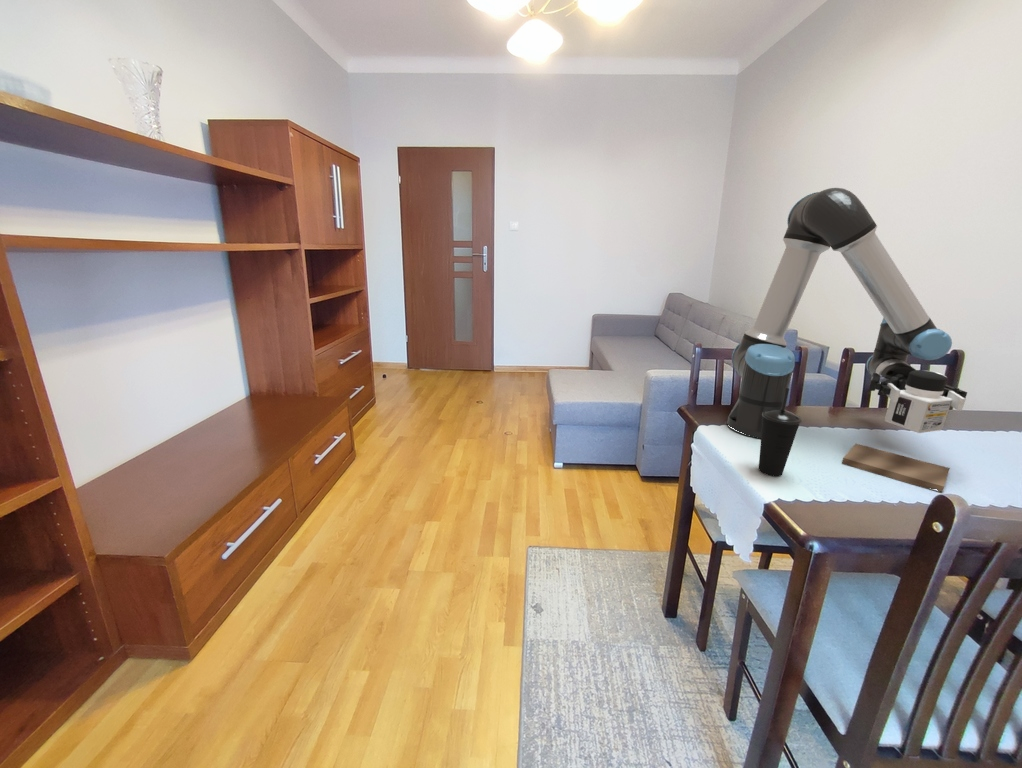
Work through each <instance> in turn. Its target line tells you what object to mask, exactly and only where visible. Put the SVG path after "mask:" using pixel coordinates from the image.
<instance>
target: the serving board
mask: <svg viewBox="0 0 1022 768" xmlns="http://www.w3.org/2000/svg"><path fill="white" fill-rule="evenodd" d="M841 464H842V465H846V466H848V467H852V468H857V469H859V470H862V471H866V472H868V473H869V472H870V473H873V474H876V475H879V476H883V477H886V478H890V479H893V480H896V481H900V482H903V483H906V484H911V485H914V486H916V487H920V486H921V487H920V488H923V487H925V488H924V489H927V488H931V489H937V490H938V491H942V492H939V493H940V494H942V493H943V492H944V491H943V490H944V488H945V484H946V481H947V478H948V475H949V472H950V469H951V468H950V467H946V466H943V465H941V464H936V463H932V462H928V461H924V460H920V459H916V458H914V457H910V456H905V455H903V454H897V453H893V452H890V451H886V450H882V449H879V448H874V447H871V446H868V445H863V444H859V443H855V444H854V445H853V446H852V447H851V448H850V449H849V450H848V452H847V453H846V454H845V455H844V456H843V457H842V460H841Z"/></svg>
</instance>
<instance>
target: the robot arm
mask: <svg viewBox="0 0 1022 768" xmlns="http://www.w3.org/2000/svg"><path fill="white" fill-rule="evenodd" d="M788 213H789V214H788V216H787V228H786V230H785V234H784V236H783V239H782V241H783V242H784V245H785V249H784V251H783V254H782V255H781V258H780V260H779V263H778V266H777V269H776V271H775V272H774V273H775V274H774V275H773V277H772V281H771V283H770V285H769V288H768V290H767V293H766V295H765V298H764V300H763V302H762V305H761V307H760V309H759V311H758V313H757V317H756V318H755V321H754V324H753V326H752V328H750V329H749V330H745V332H744V333H743V336H742V338H741V342H740V343H738V344H737V345H736V346H735V348H734V349H733V351H732V354H731V363H732V364H731V365H732V367H733V368H732V369H734V371H735V373H736V374H737V375H738V376H739V377H740V378H741V380H740V386H739V393H738V398H737V400H736V403H735V404H734V406H733V407H732V409H731V411H730V413H729V415H728V417H727V422H726V425H727V424H728V425H729V426H730V427H732V428H734V429H735V430H737V431H739V432H742V433H744V434H746V435H750V436H754V437H758V438H757V439H760V438H761V435H762V423H763V416H762V412H763V411H766V410H773V409H782V404H783V399H784V394H785V389H786V388H789V389H790V386H791V381H792V376H793V371H794V369H795V366H796V365H795V360H796V357H795V354H794V352H793V351H792V350H790V349H789V348H787V344H788V343H787V341H786V340H785V335H786V333H787V331H788V329H789V326H790V324H791V322H792V319H793V317H794V315H795V312H796V310H797V307H798V306H799V304H800V301H801V298H802V297H803V294H804V292H805V289H806V287H807V285H808V283H809V280H810V278H811V276H812V274H813V272H814V269H815V267H816V265H817V262H818V261H819V258H820V255H821V254H823V253H825V252H826V251H829V250H830V248H831V249H832V251H834V252H839V253H840V254H841V256H842V257H843V258H844V259H845V261H846V263H847V264H848V266H849V267H850V269H851V270H852V273H854V275H855V277H856V278H857V279H858V281H859V283H860V284H861V285H862V287H863V288H864V290H865V291H866V293H867V294H868V296H869V297H870V299H871V300H872V302H873V303H874V305H875V307H876V308H877V310H878V311H879V312H880V314H881V315H882V320H881V323H880V324H879V326H880V327H879V330H878V335H877V339H876V344H875V347H874V350H873V353H872V355H871V356H870V357H868V359H867V361H866V365H865V366H866V369H867V372H868V373H869V375H870V376H871V379H870V384H869V386H868V391H870V392H871V391H872V392H875V391H876V390H878V391H877V396H880V397H882V396H885V395H886V396H887V397H888V398H889V399H891V400H892V401H893V402H897V401H898V398H899V394H900V390H906V388H905V386H906V382H907V379H908V376H909V373H910V372H911V371H915V370H917V369H916V368H914V367H913V366H911V365H910V364H909V363H907V362H908V357H909V355H910V356H913V357H914V358H917V359H922V360H925V361H933V360H935V361H936V360H938V359H940V358H943V357H945V356H946V355H947V354H948V353H949V352H950V350H951V349H952V344H953V341H952V338H951V336H950V335H949V334H948V333H947V332H946V331H944V330H942V329H940V328H937V326H936V324H935V323H934V322H933V320H932V319H931V317H930V316H929V315H928V313H927V312H926V310H925V309H924V308H925V307H923V305H922V304H921V302H920V301H919V299H918V297H917V296H916V294H915V293H914V291H913V289H911V287H910V285H909V284H908V282H907V281H906V279H905V277H904V276H903V273H902V272H901V271H900V269H899V268H898V266H897V265H896V263H895V262H894V259H893V258H892V256H891V255H890V254H889V252H888V251H887V249H886V248H885V246H884V244H883V243H882V241H881V240H880V239H879V237H878V235H877V233H876V231H877V228H878V224H877V223H876V222H875V220H874V219H873V217H872V216H871V214H870V212H869V211H868V209H867V208H866V206H865V205H864V204H863V203H862V201H861V200H860V199H859V198H858V196H857V195H856V194H854V193H853V192H852V191H851V190H847V189H846V188H842V187H830V188H826V189H823V190H820V191H817V192H812V193H809V194H806V195H805V196H804V197H802V198H801V199H799V200H798V201H797V202H796V203H795V204H794V205H792V207H791V209H790V211H789V212H788ZM967 395H968V392H967V391H965V390H962V389H960V388H958V387H953V386H951V385H948V384H946V385H945V388H944V391H943V394H942V395H940V396H944V397H948V398H951V399H952V402H951V405H950V407H952V408H953V409H955V410H956V411H959V412H963V409H964V405H965V403H966V400H967V399H966V397H967ZM746 435H745V436H746ZM750 436H749V437H750ZM754 437H753V438H754Z"/></svg>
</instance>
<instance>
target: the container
mask: <svg viewBox="0 0 1022 768" xmlns="http://www.w3.org/2000/svg"><path fill="white" fill-rule="evenodd" d="M947 381H948V377H947V376H946V375H944V374H943V373H940V372H936V371H931V370H925V369H916V370H915V371H911V372H910V373H909V376H908V379H907V382H906V386H905V388H906V390H900V394H899V398H898V401H897V402H893V401H892V400H891V399H890V398H889V399H890V400H889V403H888V406H887V410H886V413H885V417H884V422H886V423H889V424H891V425H895V426H897V427H900V428H903V429H906V430H908V431H911V432H914V433H918V434H923V433H930V432H931V433H932V432H938V431H942V430H943V428H944V425H945V423H946V419H947V417H948V413H949V411H950V408H951V406H950V405H951V402H952V399H951V398H948V397H944V396H940V395H942V394H943V391H944V388H945V385H947Z"/></svg>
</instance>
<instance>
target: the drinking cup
mask: <svg viewBox="0 0 1022 768" xmlns="http://www.w3.org/2000/svg"><path fill="white" fill-rule="evenodd" d="M789 391H790V387H789V388H786V389H785V394H784V399H783V404H782V409H773V410H766V411H763V412H762V416H763V423H762V435H761V439H760V446H759V447H760V448H759V449H760V450H759V456H758V457H759V459H758V460H759V461H758V471H759V472H760V473H761V474H763V475H767V476H768V477H769V476H770V477H775V478H776V477H781V476H782V475H783V474H784V470H785V467H786V464H787V461H788V458H789V455H790V452H791V450H792V447H793V443H794V441H795V439H796V436H797V431H798V429H799V427H800V424H801V423H802V420H803V419H802V417H800V416H799V415H797V414H795V413H794V412H791V411H789V410H786V407H787V402H788V397H789Z"/></svg>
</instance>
